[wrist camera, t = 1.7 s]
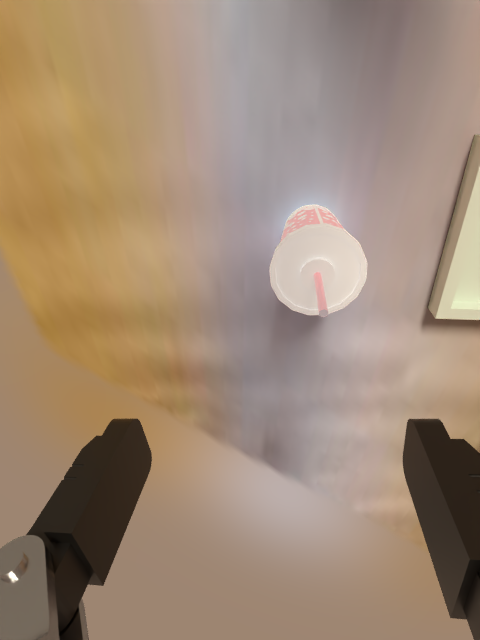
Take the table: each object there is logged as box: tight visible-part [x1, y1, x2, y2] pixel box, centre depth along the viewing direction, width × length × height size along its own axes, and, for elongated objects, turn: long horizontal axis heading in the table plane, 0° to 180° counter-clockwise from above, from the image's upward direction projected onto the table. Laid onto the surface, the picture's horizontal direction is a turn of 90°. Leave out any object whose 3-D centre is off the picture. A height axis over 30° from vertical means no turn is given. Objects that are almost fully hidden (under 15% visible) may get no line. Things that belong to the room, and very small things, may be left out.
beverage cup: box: [269, 204, 367, 317], centre depth 24 cm, size 6×6×14 cm
